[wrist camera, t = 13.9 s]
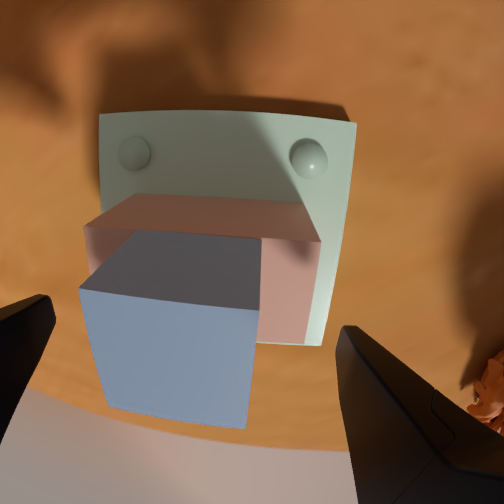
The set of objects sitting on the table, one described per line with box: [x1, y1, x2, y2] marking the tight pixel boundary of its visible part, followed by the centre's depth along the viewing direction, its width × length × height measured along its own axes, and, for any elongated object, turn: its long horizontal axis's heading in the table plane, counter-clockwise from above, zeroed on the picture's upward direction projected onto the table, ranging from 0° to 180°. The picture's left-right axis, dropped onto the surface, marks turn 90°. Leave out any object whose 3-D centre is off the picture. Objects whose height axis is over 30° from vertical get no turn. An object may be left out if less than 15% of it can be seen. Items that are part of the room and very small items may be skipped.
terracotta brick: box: [84, 193, 322, 344], centre depth 13 cm, size 8×4×5 cm, turn 86°
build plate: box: [99, 110, 357, 346], centre depth 16 cm, size 12×12×1 cm
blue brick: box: [78, 229, 262, 429], centre depth 9 cm, size 4×4×4 cm
